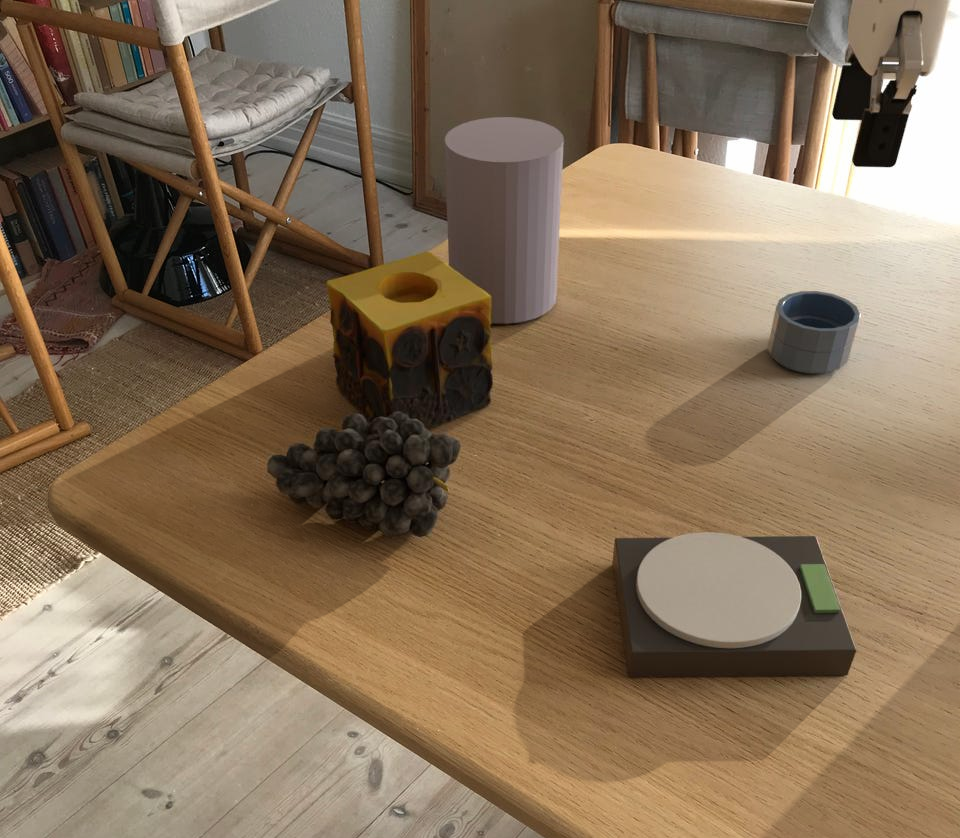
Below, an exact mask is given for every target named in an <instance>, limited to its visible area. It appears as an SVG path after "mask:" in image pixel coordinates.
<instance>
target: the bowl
mask: <svg viewBox="0 0 960 838" xmlns="http://www.w3.org/2000/svg"><path fill="white" fill-rule="evenodd" d="M860 319H861V312H860V310H859V308H858V306H857V305H855V304H854V303H853V302H852V301H850V300H849V299H847V298H845V297H842V296H840V295H838V294H834V293H830V292H825V291H819V290H801V291H797V292H792V293H788V294H786V295H784V296H783V297H781V298H780V299H779V300H778V302H777V304H776V307H775V311H774V314H773V319H772V325H771V330H770V333H769V338H768V343H767V350H768V353H769V356H770V357H771V358H772V359H773V360H774V361H776V362H777V363H778V364H779V365H781V366H782V367H784V368H786V369H788V370H790V371H793V372H796V373H800V374H808V375H821V374H826V373H830V372H833V371H836V370H840V369H841V368H842V367H845V365H846V364H847V363H848V362H849V359H850V355H851V352H852V348H853V344H854V341H855V337H856V334H857V329H858V326H859V322H860Z"/></svg>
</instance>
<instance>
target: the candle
mask: <svg viewBox="0 0 960 838" xmlns="http://www.w3.org/2000/svg"><path fill="white" fill-rule="evenodd" d="M325 285H326V291H327V295H328V302H329V309H330V312H329V313H330V325H331V328H332V337H333V355H332V356H333V363H334V368H335V372H336V378H335V384H336V388H337V390H338V391H339V392H340V393H341V394H342V395H343V396H344V397H345V398H346V399H347V400H348V401H349V403H350V404H351V405H352V406H353V407H354V408H355V409H356V410H358V411H359V414H361V415H363V416H364V418H366V420H367V421H368V422H369V421H370V422H372V420H374V419H376V418H378V417H385V418H387V417H388V416H390V415H391V414H392V413H394V412H398V411H399V412H402V413H404V414H407V415H408V416H409V418H410V419H417V420H419V421H420V422H422V423H423V424H424V427H425V428H426V429H427V430H429V429H432V428H436V427H439V426H440V425H443V424H444V423H447V422H448V423H449V422H451V421H453V420H455V419H458V418H460V417H462V416H464V415H467V414H469V413H472V412H475V411H478V410H482V409H484V408H486V407H487V406H490V405H491V402H492V397H491V391H492V388H493V385H494V381H493V380H494V379H493V373H492V371H493V360H492V333H491V329H490V328H491V325H492V324H491V296H490V295H489V294H488V293H487V292H486V291H484V290H483V289H481V288H480V287H478V286H477V285H475V284H474V283H473V282H471V281H470V280H468V279H467V278H465V277H464V276H462V275H461V274H460V273H458V272H457V271H455V270H454V269H452V268H451V267H450V266H449V263H446V262H445V261H443V260H442V259H440V258H439V257H438V256H437V255H435V254H434V253H432V252H431V251H423V252H420V253H415V254H413V255H410V256H406V257H404V258H400V259H397V260H394V261H393V260H392V261H390V262H386V263H383V264H379V265H377V266H374V267H371V268H367V269H365V270H362V271H358V272H355V273H351V274H348V275H344V276H340V277H336V278H332V279H328V280H327V281H326V282H325Z"/></svg>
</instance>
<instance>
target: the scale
mask: <svg viewBox="0 0 960 838" xmlns="http://www.w3.org/2000/svg"><path fill="white" fill-rule="evenodd" d="M611 563H612V564H611V565H612V571H613V579H614V585H615V586H614V587H615V594H616V601H617V607H618V608H617V609H618V614H619V615H618V616H619V622H620V629H621V636H622V641H623V642H622V643H623V650H624V656H625V665H626V672H627V678H629V677H636V678H685V677H684V676H688V677H687V678H718V677H719V678H726V677H727V678H730V677H737V678H738V677H821V676H822V677H823V676H824V677H829V676H830V677H832V676H834V677H836V676H838V677H840V676H843V677H844V676H848V675H849V672H850V670H851V667H852V664H853V661H854V658H855V656H856V654H857V647H856V644H855V641H854V638H853V636H852V633H851V630H850V627H849V624H848V621H847V619H846V616H845V613H844V610H843V607H842V605H841V602H840V599H839V596H838V593H837V591H836V588H835V584H834V582H833V580H832V576H831V573H830V571H829V568H828V565H827V563H826V560H825V556H824V554H823V551H822V549H821V545H820V542H819V541H818V537H817V536H816V535H787V536H785V535H784V536H783V535H781V536H779V535H778V536H777V535H776V536H739V535H735V534H730V533H723V532H716V531H715V532H713V531H712V532H710V531H704V532H703V531H702V532H692V533H691V532H690V533H685V534H681V535H677V536H673V537H615V538H614V544H613V554H612V562H611ZM650 676H651V677H650ZM659 676H660V677H659ZM668 676H669V677H668ZM676 676H678V677H676ZM692 676H694V677H692Z"/></svg>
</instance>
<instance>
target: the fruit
mask: <svg viewBox="0 0 960 838" xmlns="http://www.w3.org/2000/svg"><path fill="white" fill-rule="evenodd" d="M367 421H368V420H367V418H366V417H365V416H363V415H362V414H361V413H354V412H351V413H349V414H347V415H345V417H344V419H343V421H342V422H341V426H342V430H339V431H337V430H335V429H334V428H331V427H329V426H326V427H323V428H320V429H318V431H317V432H316V434H315V439H314V442H313V444H312V446H313V448H311V447H310V446H308V445H307V444H305V443H302V442H296V443H294V444H291V445H289V447H288V449H287V451H286V455H283V454H273V455H272V456H271V457H270V458H269V459H268V460H267V466H266V468H267V473H268V474H269V475H270V476H271V477H272V478H274V479H275V486H276V487H277V489H278V491H279V492H280V493H281V494H283V495H285V496H287V497H288V498H289V499H290V501H292V502H293V503H296V504H297V505H299V504H304V503H308V505H310V506H312V507H313V508H317V509H320V508H323V507H325V513H326V514H327V515H328V516H329V518H330V519H331V520H334V521H339V520H343V519H344V520H345V521H346V522H347V523H349V524H358V523H359V524H360V525H361V526H362V527H363V528H364V529H367V530H369V531H370V530H375V529H376V527H377V529H378V530H379V532H381V533H382V534H383V535H385V536H387V537H389V536H397V535H402V534H406V533H407V532H408V531H410V534H411V535H413V536H415V537H418V538H423V537H426V536H428V535H430V534H431V533H432V532H433V529H434V527H435V526H436V523H437V521H438V519H439V511H441V510H442V509H443V508H445V507H446V505H447V502H448V498H449V496H448V494H447V493H450V492H451V491H450V488H449V487H448V485H446V483H447V481H448V480H449V478H450V476H451V469H450V467H449V466H451V465H453V464H454V463H455V462H456V461H457V459H458V456H459V454H460V451H461V447H462V445H461V443H460V441H459V440H458V439H457V438H455V437H454V436H450V435H447V434H445V433H442V432H437V433H432V432H431V431H430V430H429V429H426V428H425V427H424V424H423V423H422V422H420V421H419V420H417V419H410V418H409V416H408V415H407V414H404V413H402V412H399V411H398V412H394V413H392V414H391V415H390V416H388V417H387V418H385V417H378V418H376V419H374V420H372V421H370V423H369V424H368V422H367Z"/></svg>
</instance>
